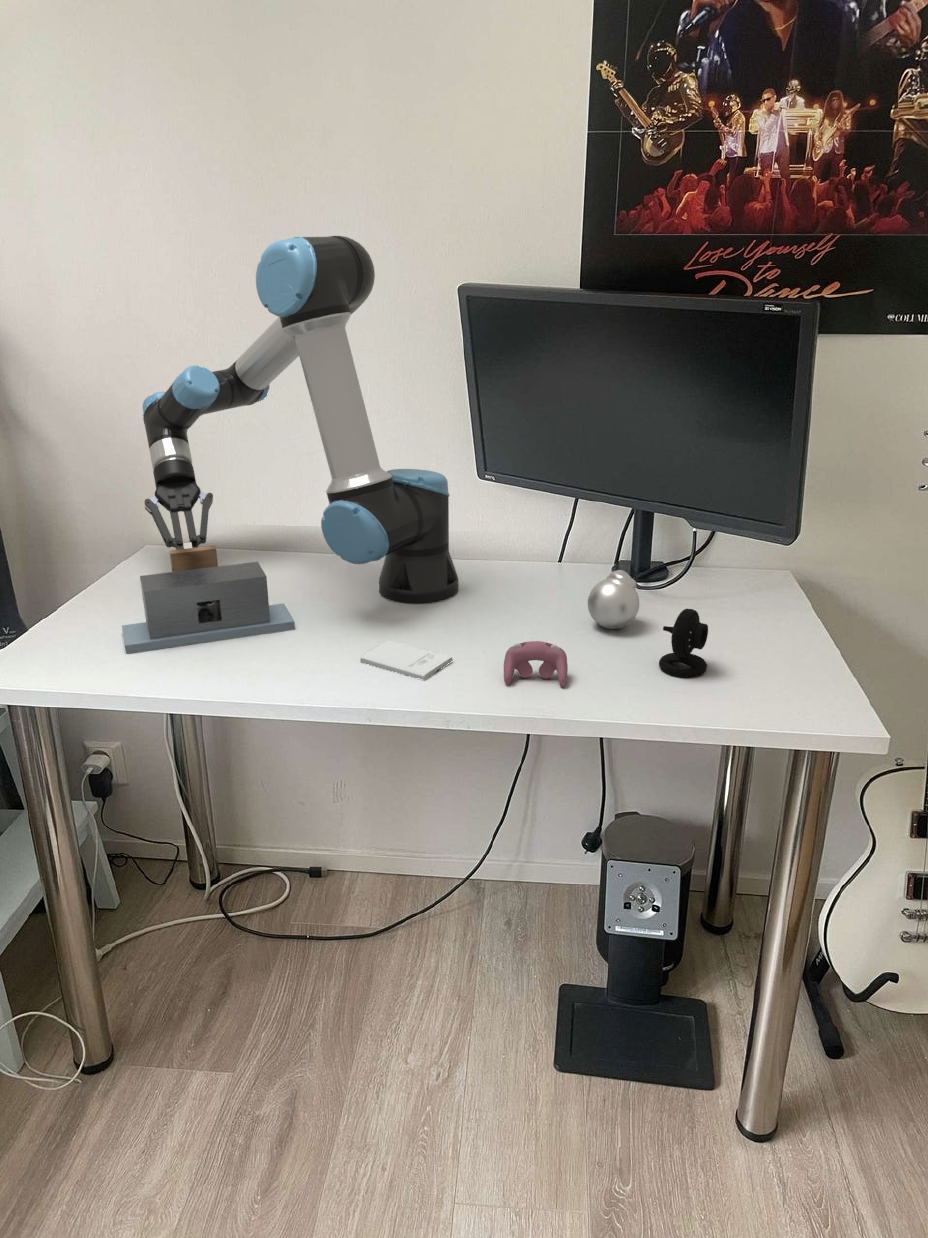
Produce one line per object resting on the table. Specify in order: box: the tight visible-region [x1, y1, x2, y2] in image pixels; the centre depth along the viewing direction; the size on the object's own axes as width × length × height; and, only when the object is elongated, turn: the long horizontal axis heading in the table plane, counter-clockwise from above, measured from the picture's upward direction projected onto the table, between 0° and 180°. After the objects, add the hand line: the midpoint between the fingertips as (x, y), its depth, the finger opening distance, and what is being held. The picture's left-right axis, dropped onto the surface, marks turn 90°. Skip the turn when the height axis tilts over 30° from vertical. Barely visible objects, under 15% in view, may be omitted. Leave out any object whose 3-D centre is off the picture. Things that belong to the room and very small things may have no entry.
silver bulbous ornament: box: [587, 569, 640, 630], centre depth 174 cm, size 9×10×10 cm
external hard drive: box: [360, 639, 454, 681], centre depth 163 cm, size 2×8×12 cm
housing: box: [121, 561, 296, 655], centre depth 173 cm, size 28×9×10 cm, turn 111°
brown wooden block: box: [169, 545, 219, 606], centre depth 180 cm, size 8×12×10 cm
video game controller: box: [503, 640, 569, 688], centre depth 156 cm, size 10×5×7 cm, turn 85°
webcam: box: [658, 608, 709, 679], centre depth 158 cm, size 8×8×10 cm
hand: (192, 576), depth 186 cm, fingers closed
